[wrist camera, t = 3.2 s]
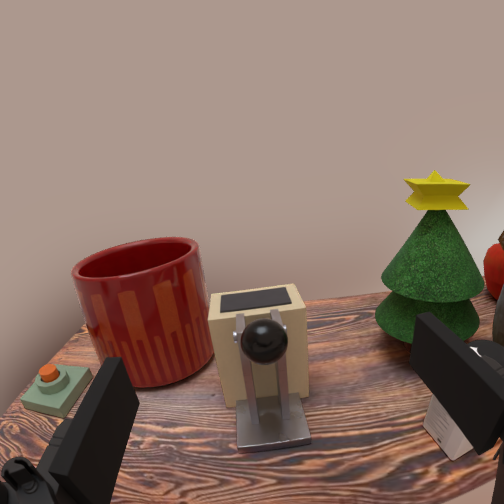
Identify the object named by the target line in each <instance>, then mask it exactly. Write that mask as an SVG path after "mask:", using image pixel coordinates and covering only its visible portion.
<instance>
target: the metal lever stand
mask: <svg viewBox="0 0 504 504" xmlns="http://www.w3.org/2000/svg"><path fill="white" fill-rule="evenodd" d="M270 318H271V319H272V320H275V321H277V322H278V323H279V324H281V325H282V327H283V328H284V329H285V331H286V333H287V328H286V324H284V325H283V323H282V320H281V316H280V313H279V310H278V309H272V310H270ZM245 327H246V323H245V316H244V313H241V314H236V331H233V339H234V343H238V347H239V353H240V359H241V365H242V371H243V377H244V383H245V389H246V395H247V399H245V400H236V428H237V448H238V452H239V453H249V452H259V451H267V450H274V449H281V448H288V447H294V446H300V445H306V444H311V435H310V431H309V428H308V424H307V421H306V417H305V413H304V410H303V406H302V403H301V399H300V396H299V392H296V393H290V394H289V392H288V377H287V363H286V352H285V354H284V355H283V357H282V358H281V359H280V360H278V361H277V362H275V368H276V379H277V389H278V395H276V396H269V397H262V398H256V392H255V385H254V378H253V372H252V365H251V361H250V360H249V359H248V358H247V357H246V356H245V355H244V353H243V351H242V349H241V343H240V340H241V335H242V332H243V330H244V329H245Z"/></svg>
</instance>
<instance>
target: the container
mask: <svg viewBox="0 0 504 504" xmlns="http://www.w3.org/2000/svg"><path fill="white" fill-rule="evenodd" d="M467 345H468V346H469V347H470V348H472V349H473V350H474V351H475V352H476V353H477V354H478V355H479V356H480V357H481V356H484V355H486V356H488V357H490V358H492V359H494V360H496V361H497V362H498V363H499V364H500V365H501V366H502V368H504V347H503V346H502V345H500V344H498V343H496V342H493V341H489V340H476V341H472V342H470V343H468V344H467ZM423 427H424V428H425V429H426V430H427V431H428V433H429V434H430V435H431V436H432V437H433V439H434V440H435V441H436V442H437V443H438V445H439V446H440V447H441V448H442V450H443V451H444V452H445V453H446V454H447V456H448V457H449V458H450V459H451V460H455V459H457V458H459V457H460V456H462V455H463V454H465V453H466V452H468V451H470V450H471V449H473V447H472V445H471V444H470V442H469V441H468V440H467V438H466V437H465V436H464V434H463V433H462V432H461V430H460V429H459V427H458V426H457V425H456V423H455V422H454V421H453V419H452V418H451V417H450V415H449V414H448V413H447V411H446V410H445V409H444V408H443V406H442V405H441V404H440V402H439V401H438V400H437V398H436V397H435V396H434V394H432V397H431V401H430V404H429V407H428V410H427V413H426V416H425V419H424V422H423Z"/></svg>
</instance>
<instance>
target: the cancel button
mask: <svg viewBox="0 0 504 504" xmlns="http://www.w3.org/2000/svg"><path fill="white" fill-rule="evenodd" d="M39 374H40V376H41V378H42V380H43V382H45V383H48V382H52V381H54V380H56V379H57V378H58V377H59V372H58V370H57V368H56V366H55V365H54V364H48V365H45V366H43V367H42V368H41V369H40V370H39Z"/></svg>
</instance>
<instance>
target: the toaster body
mask: <svg viewBox="0 0 504 504" xmlns="http://www.w3.org/2000/svg"><path fill="white" fill-rule="evenodd" d="M272 309H278V310H279V313H280V316H281V320H282V323H283V325H284V324H286V328H287V336H288V347H287V350H286V363H287V377H288V392H289V394H290V393H296V392H299V396H300V398H305V397H309V377H308V342H307V316H306V306H305V304H304V302H303V300H302V298H301V296H300V294H299V292H298V290H297V289H296V287H295V284H287V285H280V286H272V287H265V288H257V289H249V290H241V291H233V292H225V293H216V294H211V300H210V308H209V315H208V324H209V329H210V334H211V339H212V344H213V349H214V354H215V358H216V363H217V368H218V372H219V377H220V381H221V386H222V390H223V395H224V399H225V403H226V407H227V408H232V407H236V400H245V399H247V395H246V389H245V383H244V377H243V371H242V365H241V359H240V353H239V347H238V343H234V339H233V331H236V314H241V313H244V316H245V323H246V326H247V325H248V324H249V323H251V322H252V321H254V320H257V319H261V318H268V319H271V318H270V310H272ZM251 365H252V372H253V378H254V385H255V392H256V398H262V397H269V396H276V395H278V389H277V379H276V368H275V363H273V364H270V365H259V364H255V363H253V362H251Z"/></svg>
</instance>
